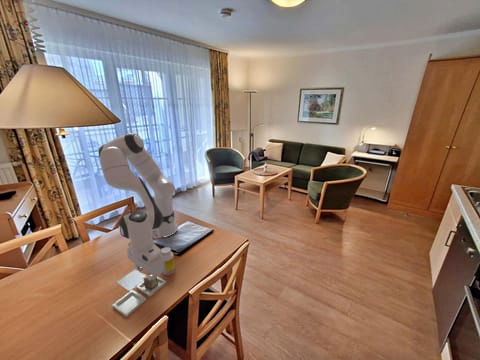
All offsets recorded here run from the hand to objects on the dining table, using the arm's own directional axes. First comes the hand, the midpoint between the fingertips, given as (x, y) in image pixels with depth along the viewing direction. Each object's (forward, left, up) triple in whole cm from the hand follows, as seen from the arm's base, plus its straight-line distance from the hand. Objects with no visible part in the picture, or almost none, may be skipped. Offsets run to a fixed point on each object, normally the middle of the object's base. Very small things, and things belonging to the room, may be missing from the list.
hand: (146, 274), depth 96 cm
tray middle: (+1, +1, -8) cm, 8 cm away
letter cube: (+1, +1, -7) cm, 7 cm away
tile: (-10, -1, -8) cm, 13 cm away
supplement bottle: (0, +12, -8) cm, 14 cm away
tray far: (+1, -10, -8) cm, 13 cm away
